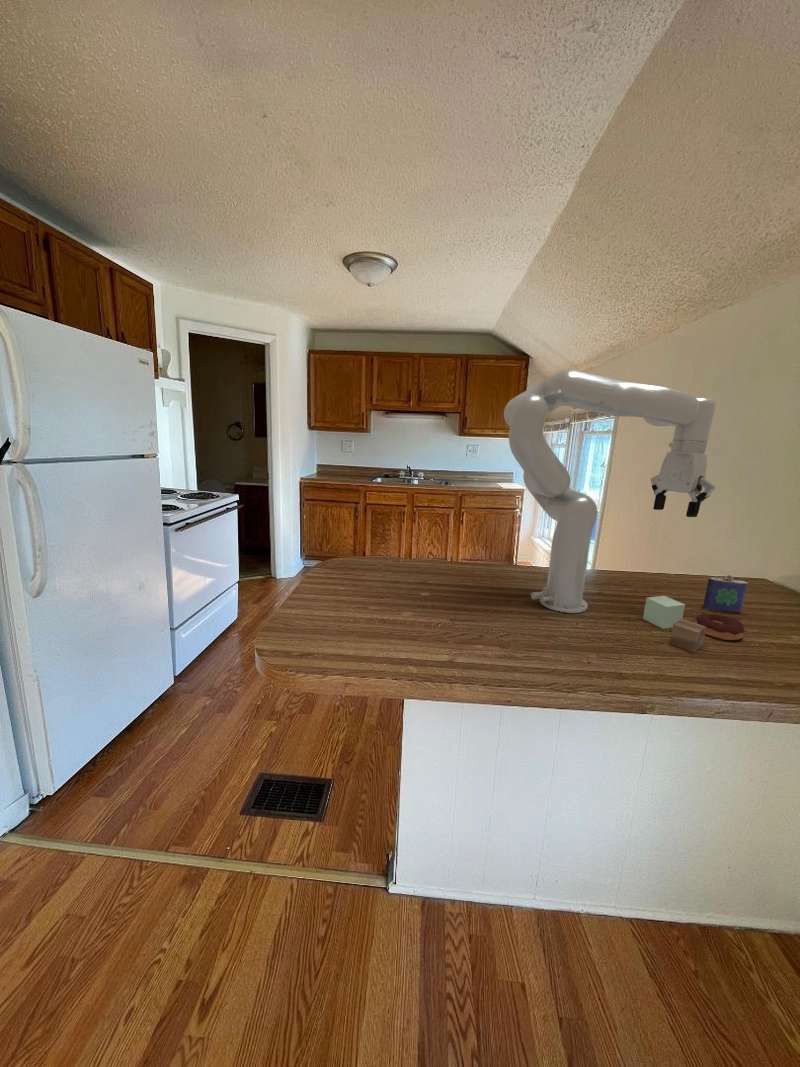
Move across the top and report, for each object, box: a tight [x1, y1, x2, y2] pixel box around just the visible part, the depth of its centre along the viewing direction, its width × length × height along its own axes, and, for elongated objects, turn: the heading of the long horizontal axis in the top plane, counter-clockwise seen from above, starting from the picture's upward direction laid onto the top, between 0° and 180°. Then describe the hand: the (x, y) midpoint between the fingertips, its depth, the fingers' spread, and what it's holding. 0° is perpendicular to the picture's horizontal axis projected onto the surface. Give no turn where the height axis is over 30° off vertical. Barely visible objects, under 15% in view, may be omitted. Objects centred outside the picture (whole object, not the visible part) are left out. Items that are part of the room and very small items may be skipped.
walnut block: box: [669, 618, 706, 653], centre depth 98 cm, size 5×5×5 cm
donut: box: [693, 612, 745, 641], centre depth 105 cm, size 10×10×4 cm
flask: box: [702, 573, 749, 615], centre depth 118 cm, size 9×3×11 cm, turn 74°
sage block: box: [642, 595, 686, 630], centre depth 110 cm, size 6×6×6 cm
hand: (674, 513), depth 114 cm, fingers open, 9 cm apart
